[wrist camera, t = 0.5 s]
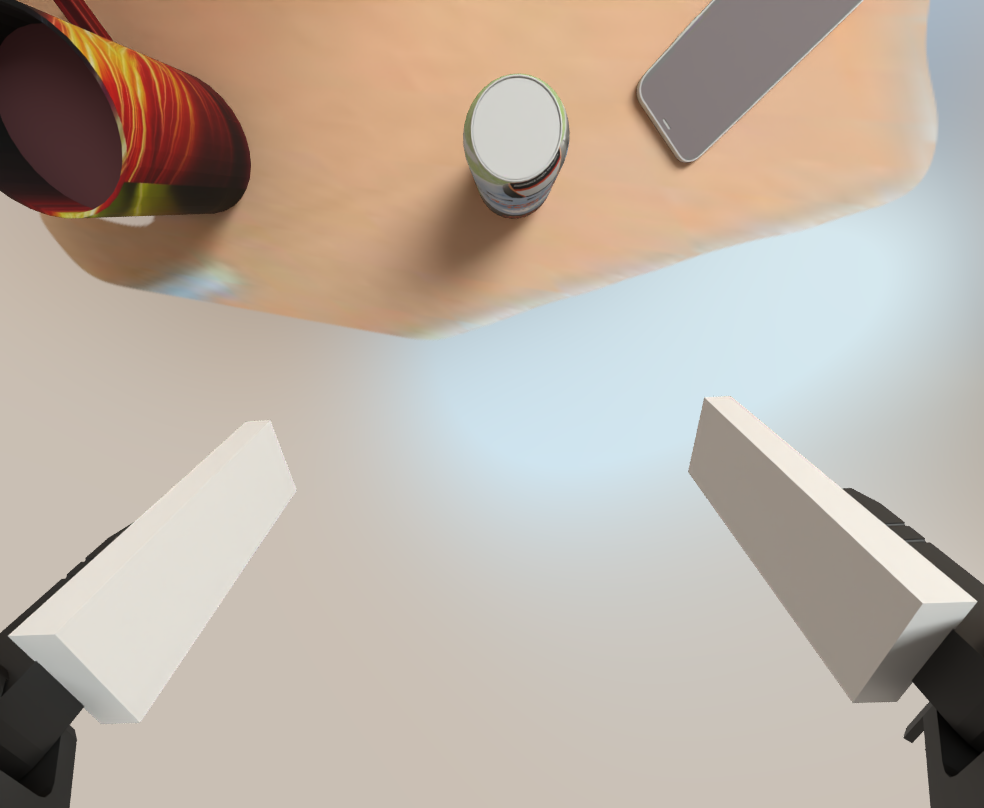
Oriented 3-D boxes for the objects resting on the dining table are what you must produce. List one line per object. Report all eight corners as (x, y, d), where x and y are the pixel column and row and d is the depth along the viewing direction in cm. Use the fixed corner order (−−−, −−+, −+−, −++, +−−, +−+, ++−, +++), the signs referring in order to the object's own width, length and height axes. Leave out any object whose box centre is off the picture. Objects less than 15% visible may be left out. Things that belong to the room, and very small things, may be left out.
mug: (79, -18, 27) (-198, -166, 16) (270, 133, 30) (150, 95, 20) (49, 118, 30) (-194, 72, 19) (224, 238, 34) (102, 254, 23)
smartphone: (880, -15, 26) (687, 169, 31) (868, -8, 27) (682, 170, 32) (833, -133, 24) (632, 86, 29) (822, -121, 25) (628, 89, 29)
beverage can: (496, 231, 34) (497, 243, 23) (455, 139, 31) (435, 104, 20) (564, 194, 32) (599, 190, 22) (529, 95, 29) (549, 33, 19)
